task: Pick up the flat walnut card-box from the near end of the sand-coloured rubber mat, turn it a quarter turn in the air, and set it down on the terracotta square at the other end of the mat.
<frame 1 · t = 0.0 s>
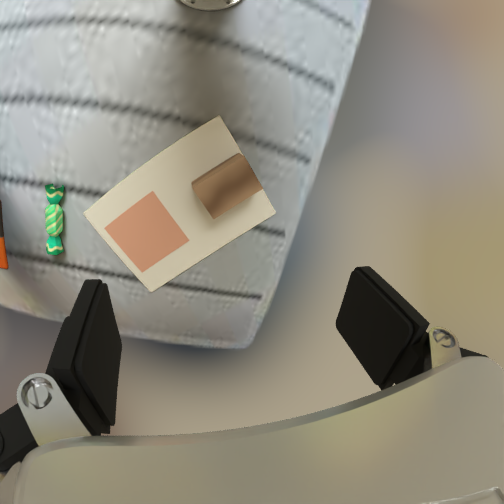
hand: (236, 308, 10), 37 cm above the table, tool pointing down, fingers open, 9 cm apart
candy: (57, 215, 40), on the table
walnut card box: (223, 181, 45), resting on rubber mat
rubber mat: (178, 210, 45), on the table
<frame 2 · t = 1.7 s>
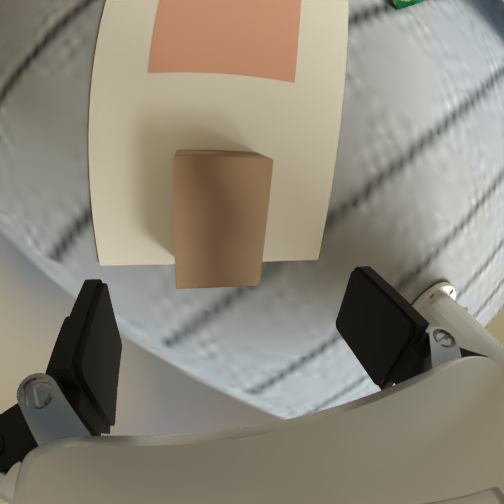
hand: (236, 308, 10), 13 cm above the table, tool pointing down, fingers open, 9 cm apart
walnut card box: (213, 206, 21), resting on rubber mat
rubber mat: (221, 92, 18), on the table
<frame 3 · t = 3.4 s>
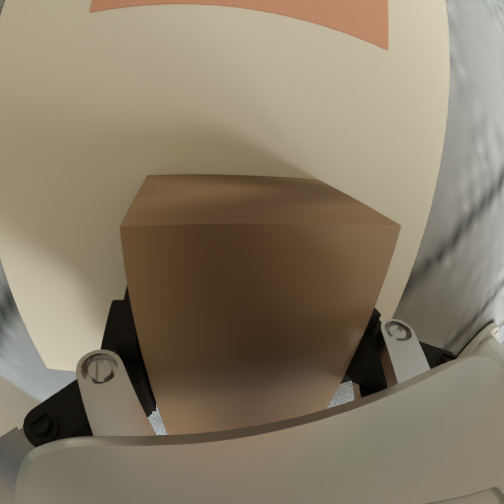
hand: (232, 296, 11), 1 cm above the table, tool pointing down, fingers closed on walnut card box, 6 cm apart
walnut card box: (230, 289, 11), resting on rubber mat, touching gripper
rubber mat: (248, 48, 7), on the table
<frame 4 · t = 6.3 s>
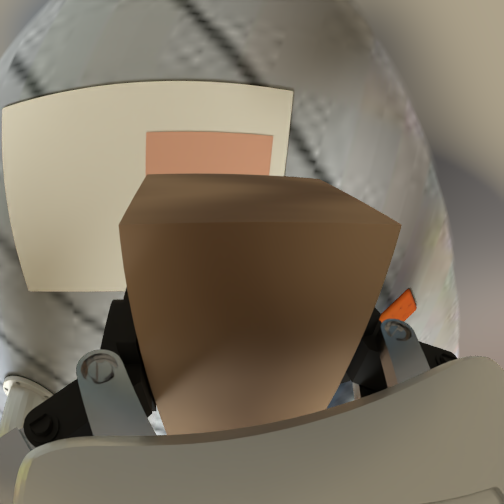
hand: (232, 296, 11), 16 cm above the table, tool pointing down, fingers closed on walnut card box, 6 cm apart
walnut card box: (230, 288, 11), point 15 cm above the table, touching gripper
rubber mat: (130, 194, 22), on the table
orange grey slab: (377, 325, 41), on the table
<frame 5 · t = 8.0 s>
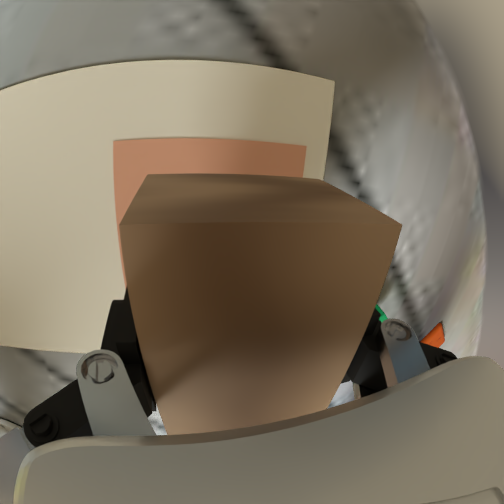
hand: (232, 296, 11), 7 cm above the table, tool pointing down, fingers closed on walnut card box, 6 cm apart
walnut card box: (230, 288, 11), point 7 cm above the table, touching gripper
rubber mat: (96, 234, 15), on the table
orange grey slab: (403, 361, 34), on the table
when the fingers open (2 cm above the table, at t = 9.5 s): walnut card box stays where it is, resting on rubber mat.
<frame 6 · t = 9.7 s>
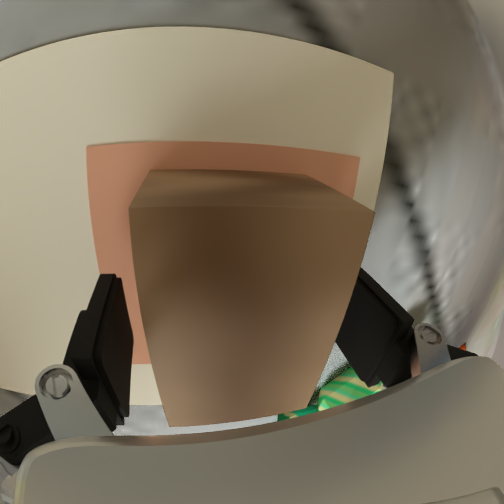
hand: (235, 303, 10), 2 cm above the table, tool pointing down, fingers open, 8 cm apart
candy: (342, 373, 20), on the table
walnut card box: (225, 275, 12), resting on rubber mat
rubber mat: (73, 274, 10), on the table
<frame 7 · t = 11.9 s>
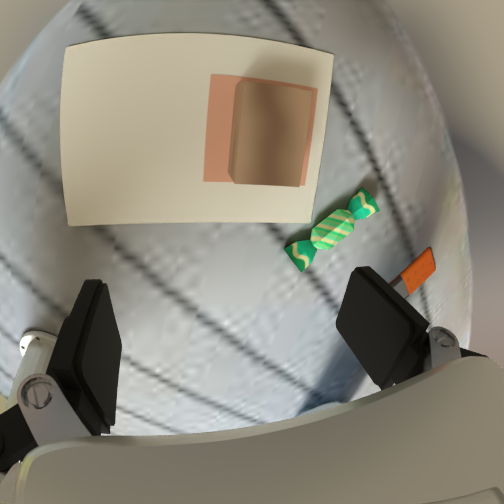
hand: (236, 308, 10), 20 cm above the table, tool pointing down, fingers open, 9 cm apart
candy: (325, 223, 33), on the table
walnut card box: (261, 131, 26), resting on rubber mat
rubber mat: (190, 127, 24), on the table
orange grey slab: (401, 282, 43), on the table
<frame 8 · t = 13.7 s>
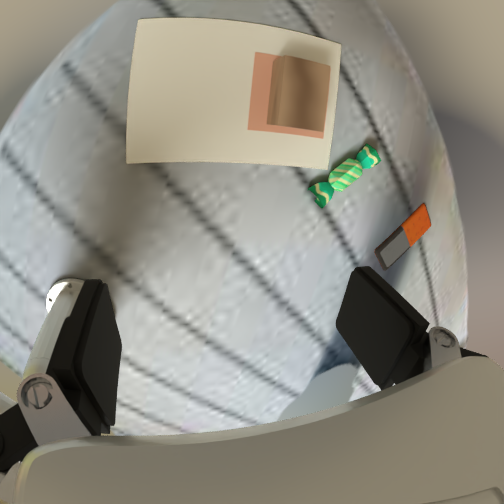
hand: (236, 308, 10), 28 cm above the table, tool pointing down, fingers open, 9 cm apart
candy: (338, 172, 40), on the table
walnut card box: (291, 95, 32), resting on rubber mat
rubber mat: (239, 88, 31), on the table
orange grey slab: (402, 235, 50), on the table
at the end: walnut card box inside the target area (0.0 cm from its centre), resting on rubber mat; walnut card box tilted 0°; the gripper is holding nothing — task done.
